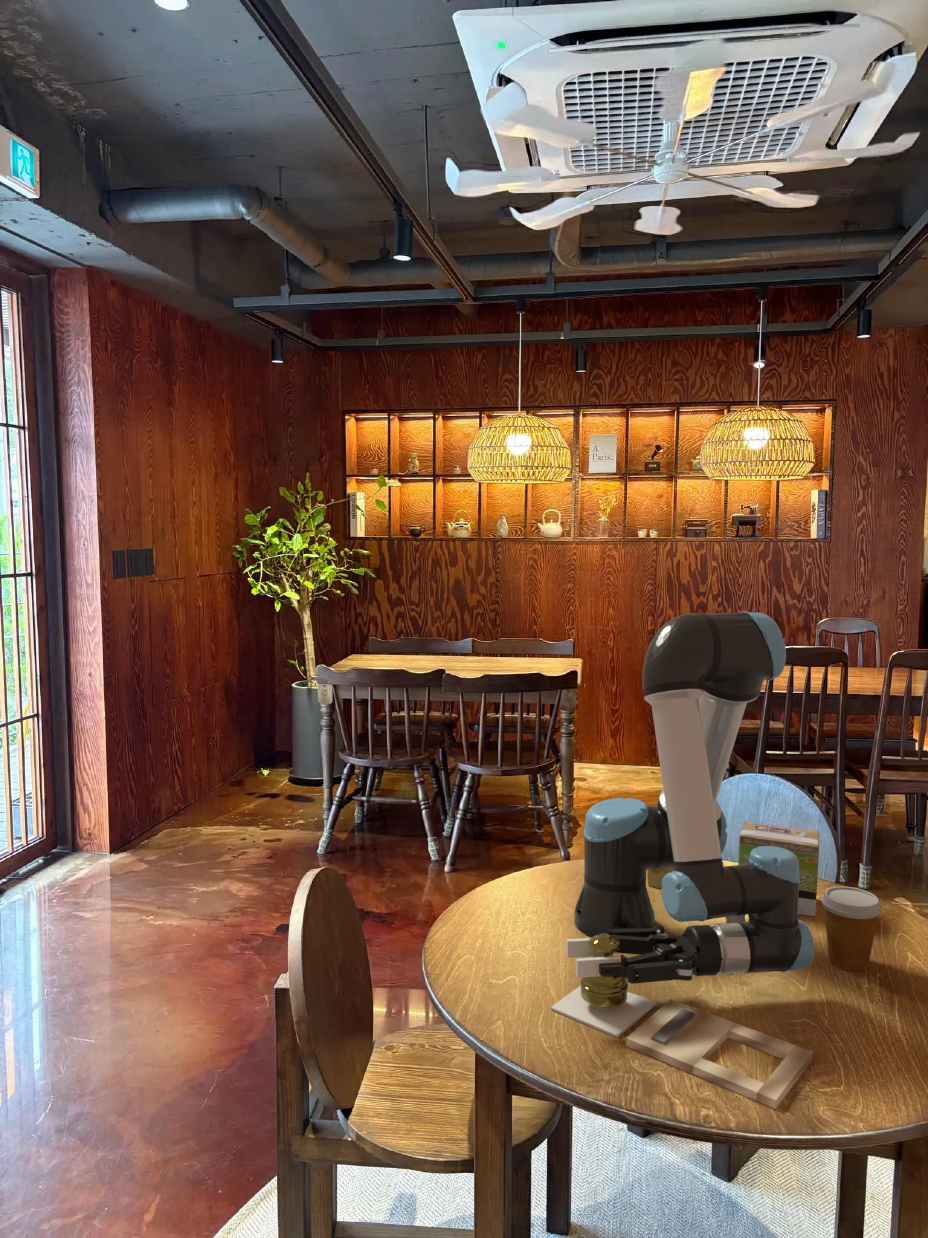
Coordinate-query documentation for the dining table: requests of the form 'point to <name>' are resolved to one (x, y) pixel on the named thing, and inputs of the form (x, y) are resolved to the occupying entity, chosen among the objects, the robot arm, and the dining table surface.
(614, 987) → the brass bell weight
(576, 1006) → the mat
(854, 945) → the disposable coffee cup
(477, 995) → the dining table surface
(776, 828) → the tea box
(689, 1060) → the light wooden flat frame
